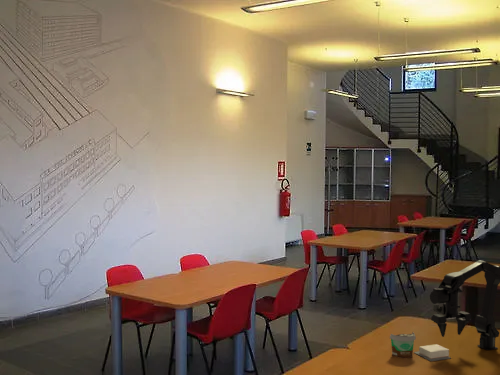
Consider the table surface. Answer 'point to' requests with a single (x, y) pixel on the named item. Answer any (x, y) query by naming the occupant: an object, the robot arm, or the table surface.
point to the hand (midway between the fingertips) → (450, 335)
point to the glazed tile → (434, 351)
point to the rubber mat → (433, 358)
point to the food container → (402, 345)
